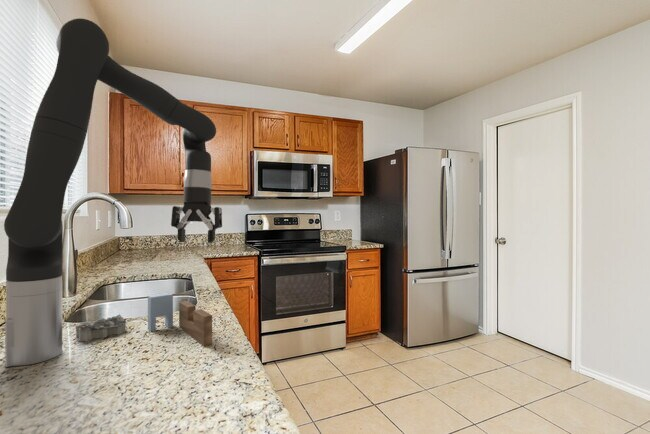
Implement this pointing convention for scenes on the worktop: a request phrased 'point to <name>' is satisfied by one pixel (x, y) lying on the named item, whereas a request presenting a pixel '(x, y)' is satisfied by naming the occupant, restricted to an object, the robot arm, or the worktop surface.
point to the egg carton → (100, 328)
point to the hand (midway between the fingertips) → (196, 242)
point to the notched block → (160, 309)
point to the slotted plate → (195, 323)
